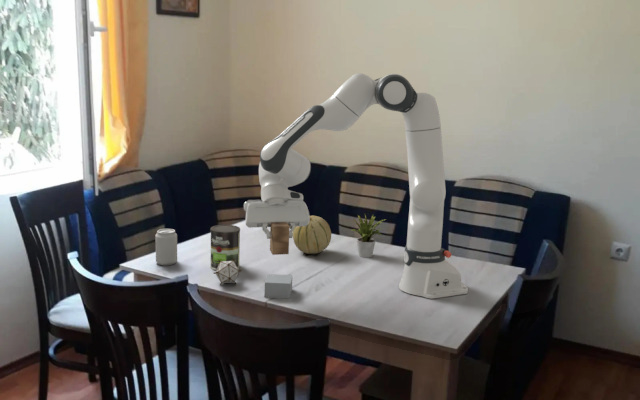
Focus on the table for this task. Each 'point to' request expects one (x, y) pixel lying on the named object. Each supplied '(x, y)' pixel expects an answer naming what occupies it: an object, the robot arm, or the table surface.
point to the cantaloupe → (312, 236)
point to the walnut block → (279, 238)
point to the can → (166, 247)
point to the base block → (278, 286)
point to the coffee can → (224, 244)
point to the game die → (227, 271)
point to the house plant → (366, 236)
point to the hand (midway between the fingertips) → (280, 237)
